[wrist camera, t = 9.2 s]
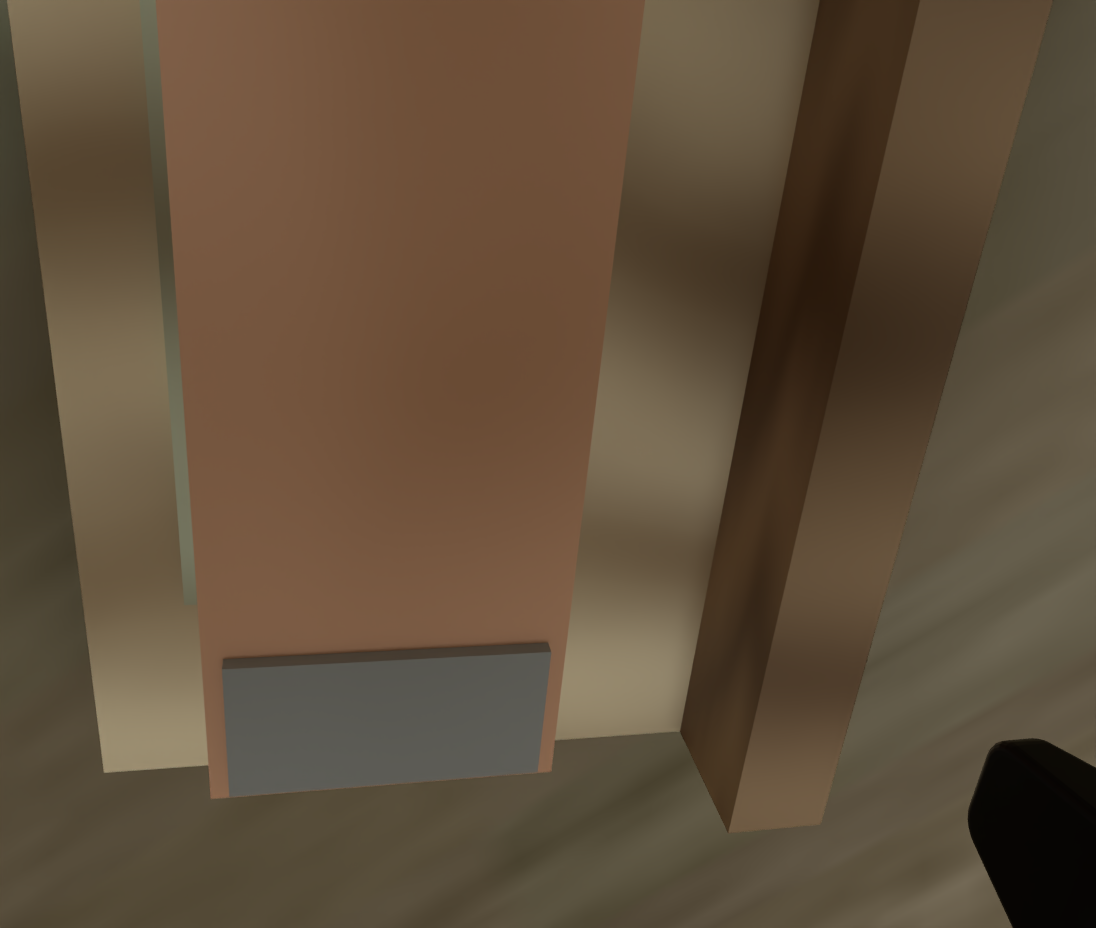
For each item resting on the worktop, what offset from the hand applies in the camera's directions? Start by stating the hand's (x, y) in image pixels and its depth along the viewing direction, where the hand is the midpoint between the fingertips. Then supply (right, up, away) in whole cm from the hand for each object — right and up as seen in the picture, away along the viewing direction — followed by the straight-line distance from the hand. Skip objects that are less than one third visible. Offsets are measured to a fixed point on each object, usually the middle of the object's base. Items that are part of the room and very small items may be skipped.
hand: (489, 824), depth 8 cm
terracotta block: (-2, +6, +9) cm, 11 cm away
